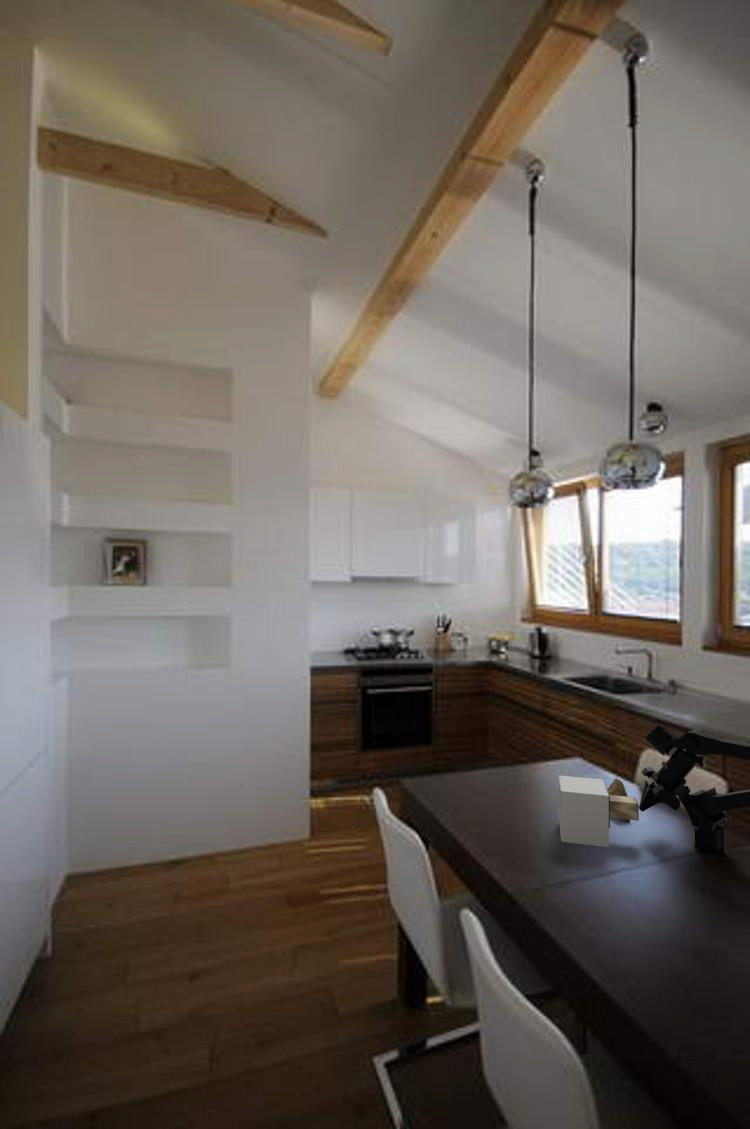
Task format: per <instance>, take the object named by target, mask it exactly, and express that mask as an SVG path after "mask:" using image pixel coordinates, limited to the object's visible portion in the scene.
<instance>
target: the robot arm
mask: <svg viewBox="0 0 750 1129" xmlns="http://www.w3.org/2000/svg"><path fill="white" fill-rule="evenodd" d="M645 742H646V743H647V744H648V745H650V746H651V747H652V748H653V749H654V750H656V751H657V752H658V753H659V754H660V755H661V756H666V755H667V756H668V757H669V756H670V757H669V758H668V760H667V761H664V760H663V761H662V762H661V763H660V764H661V765H662V766H661V767H660V769H659V770H658V771H656V770H654V769H653V768H652V767H650V766H646V767H644V769H643V770H642V771H641V774H642V775H643V776H644V777H647V778H648V781H647V780H646V779H645V780H644V783H643V788H642V793H641V797H640V800H639V801H640V802H639V811H640V812H645V811H647V810H648V809H651V808H652V807H654V806H655V805H658V804H666V805H667V806H668V807H669V808H671V809H672V810H673V811H674V812H677V811H678V810H679V808H680V807H681V805H682V806H683V808H684V809H685V812H686V813H687V815H688V816H689V820H690V823H691V825H692V829H691V832H692V833H691V836H692V838H691V839H692V844H693V846H694V847H695V848H696V850H697V851H698V852H699V853H703V854H704V853H705V854H713V855H719V856H720V855H721V856H727V852H726V850H725V828H724V826H723V825H726V824H727V822H728V819H729V817H728V815H727V814H726V813H725V812H728V811H732V810H733V811H734V810H740V809H747V808H750V788H749V789H745V790H738V791H733V792H728V793H727V792H726V793H718V792H717V790H716V788H715V787H713V788H710V789H699V790H698V791H696V792H693V793H691V789H690V787H689V786H688V784H687V780H686V778H687V776H688V775H689V774H690V772H692V771H693V769H695V768H696V766H697V765H698V766H700V767H701V768H704V769H705V768H707V763H706V757H705V756H704V755H706V756H707V755H709V756H710V755H721V756H726V757H729V758H735V759H739V760H745V761H749V762H750V742H745V741H740V740H734V739H729V738H726V737H721V736H720V735H718V734H716V733H715V732H712V731H708V730H706V729H703V728H696V729H693V730H691V731H690V730H689V731H687V732H685V733H684V734H682V735H679V736H677V735H676V734H675V733H673V732H672V731H670V730H669V729H668V728H667V727H666V726H665V725H663V724H662V723H661V724H658V725H657V726H656V727H655V728H654V729H653V730H651V732H649V733H648V734H647V735H646V738H645ZM700 755H702V756H700Z"/></svg>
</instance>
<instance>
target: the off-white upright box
mask: <svg viewBox="0 0 750 1129" xmlns="http://www.w3.org/2000/svg"><path fill="white" fill-rule="evenodd" d="M558 824H559V832H560V833H559V835H560V842H563V843H570V844H578V845H585V846H586V845H587V846H595V847H603V848H610V839H609V838H610V829H611V818H610V795H609V792H608V786H607V784H605V783H604V779H603V778H590V777H579V776H578V777H577V776H570V775H558Z"/></svg>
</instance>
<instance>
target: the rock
mask: <svg viewBox="0 0 750 1129" xmlns="http://www.w3.org/2000/svg"><path fill="white" fill-rule="evenodd" d="M607 789H608V792H609V795H615V796H625V797H629V796H628V794H627V793H628V792H627V791H626V788H625V785H624V782H623V781H622V780H620V779H618V778H614V780H613V781H612V782H611V784H610V785H609V786H608V787H607ZM620 820H621V821H623V822H624V821H625V822H629V821H630V822H631V820H628V819H620Z"/></svg>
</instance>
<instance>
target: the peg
mask: <svg viewBox="0 0 750 1129" xmlns="http://www.w3.org/2000/svg"><path fill="white" fill-rule="evenodd" d="M639 805H640V802H639V801H638V799H637V798H636V796H634V797H632V796H628V797H625V796H615V795H610V819H611V818H612V819H619V820H621V819H628V820H630V821H636V822H637V821H640V820H639V819H640V817H639V816H640V815H639V814H640V813H639V811H640V809H639Z"/></svg>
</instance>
